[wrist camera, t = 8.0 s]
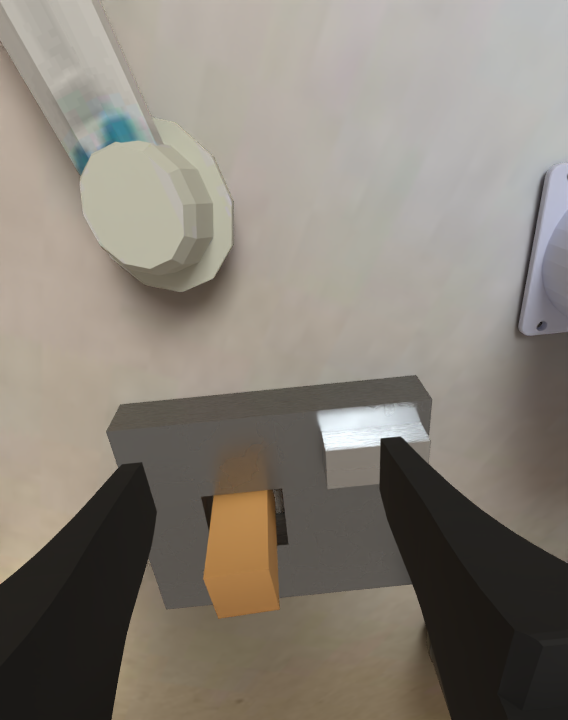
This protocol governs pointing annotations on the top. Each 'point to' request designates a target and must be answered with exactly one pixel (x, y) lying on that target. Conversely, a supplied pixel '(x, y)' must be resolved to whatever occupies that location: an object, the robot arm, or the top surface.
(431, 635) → the robot arm
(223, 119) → the top surface
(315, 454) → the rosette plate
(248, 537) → the orange rectangular peg
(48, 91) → the white flashlight
